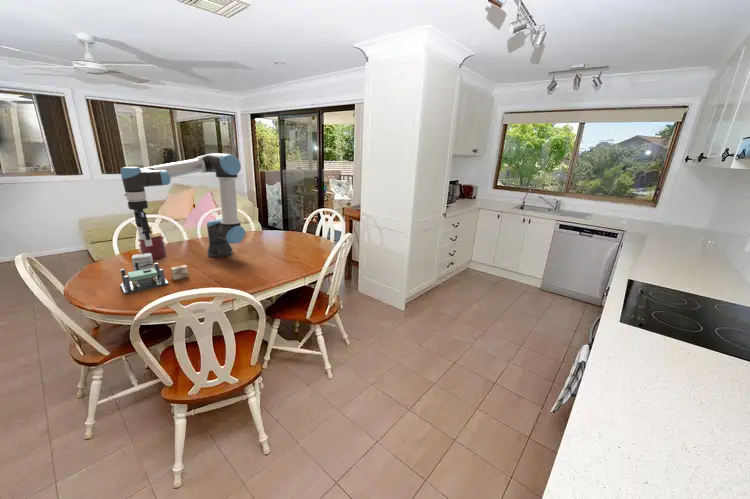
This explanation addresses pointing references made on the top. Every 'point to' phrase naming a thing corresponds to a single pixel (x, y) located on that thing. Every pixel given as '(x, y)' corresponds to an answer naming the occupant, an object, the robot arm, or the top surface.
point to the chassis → (143, 282)
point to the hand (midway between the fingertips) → (146, 242)
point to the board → (142, 274)
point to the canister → (154, 246)
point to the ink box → (142, 261)
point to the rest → (179, 272)
